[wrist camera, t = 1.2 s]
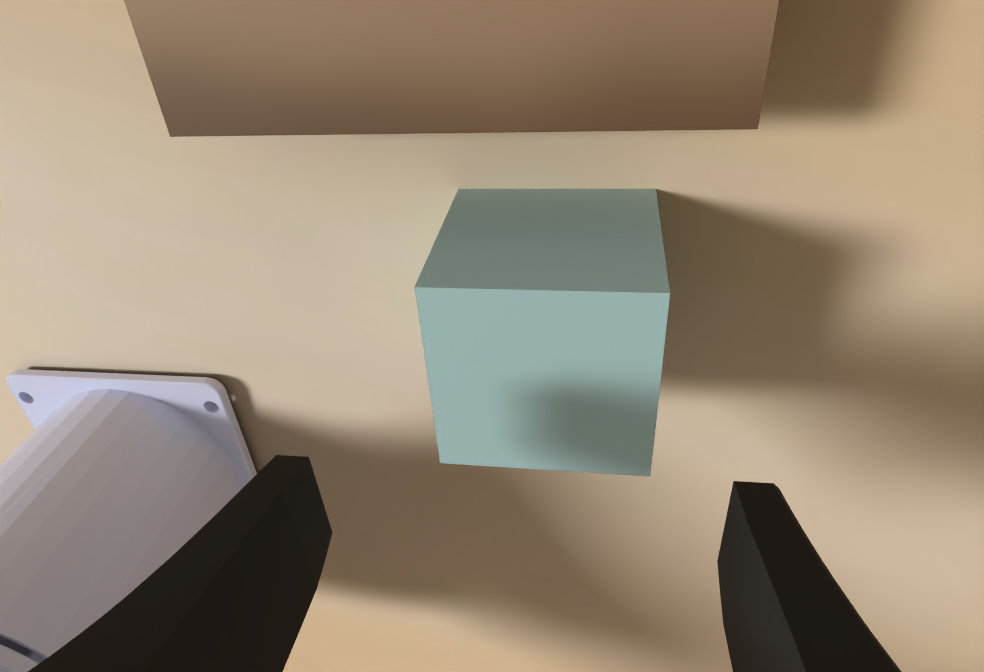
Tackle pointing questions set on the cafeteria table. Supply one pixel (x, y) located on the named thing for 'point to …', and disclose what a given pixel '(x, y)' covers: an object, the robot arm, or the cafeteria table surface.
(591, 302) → the teal cube
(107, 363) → the cafeteria table surface
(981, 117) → the cafeteria table surface
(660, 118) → the walnut base
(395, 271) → the cafeteria table surface
